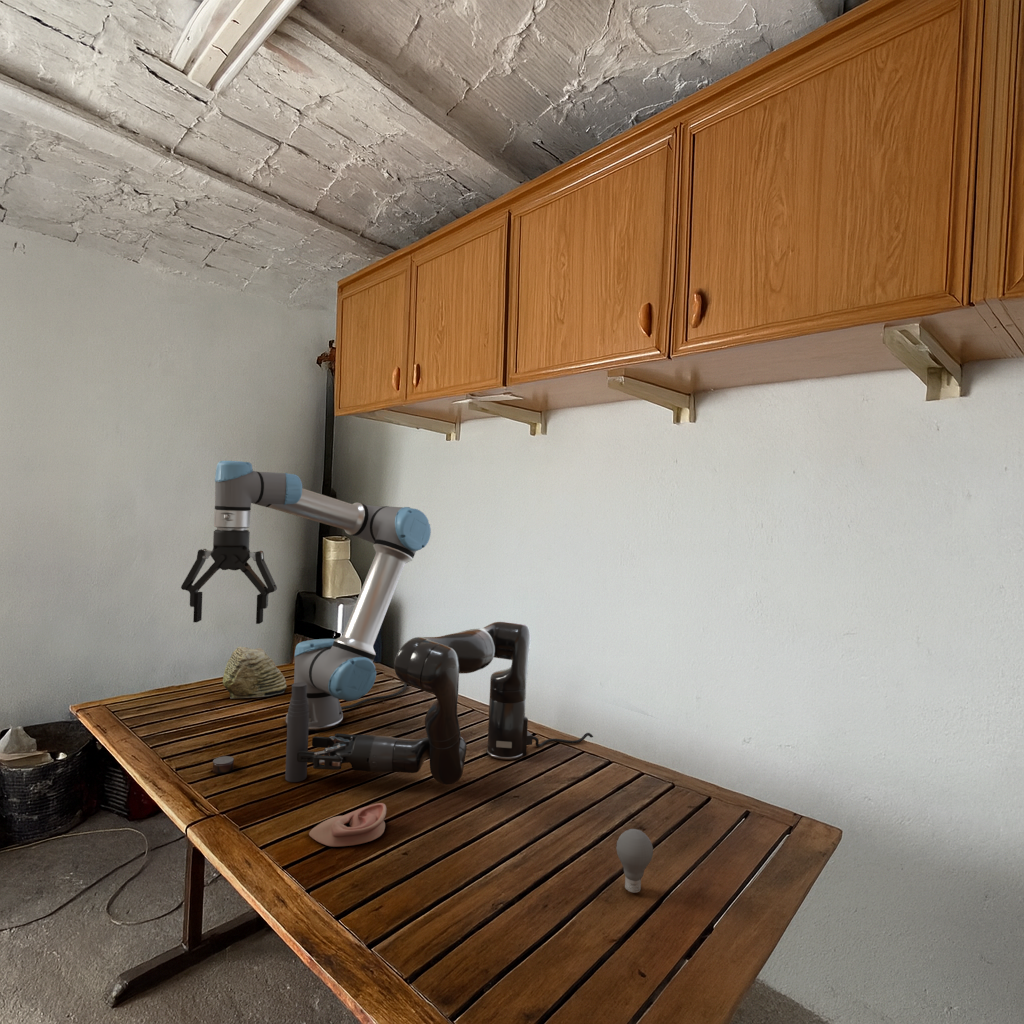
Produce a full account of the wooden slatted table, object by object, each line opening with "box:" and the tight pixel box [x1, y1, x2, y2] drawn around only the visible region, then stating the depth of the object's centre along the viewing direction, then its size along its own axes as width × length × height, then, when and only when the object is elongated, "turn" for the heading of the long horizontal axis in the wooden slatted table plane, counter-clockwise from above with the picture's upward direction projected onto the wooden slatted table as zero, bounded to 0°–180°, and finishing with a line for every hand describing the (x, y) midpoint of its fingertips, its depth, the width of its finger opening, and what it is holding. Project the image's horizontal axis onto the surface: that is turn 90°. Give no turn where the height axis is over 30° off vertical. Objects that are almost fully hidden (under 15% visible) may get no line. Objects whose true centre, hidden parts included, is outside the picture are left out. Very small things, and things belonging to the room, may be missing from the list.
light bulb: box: [615, 828, 654, 894], centre depth 106 cm, size 6×6×10 cm
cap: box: [212, 755, 235, 774], centre depth 145 cm, size 4×4×2 cm
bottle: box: [284, 682, 309, 783], centre depth 142 cm, size 5×5×21 cm
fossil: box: [222, 646, 288, 699], centre depth 198 cm, size 9×18×15 cm, turn 132°
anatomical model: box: [308, 802, 387, 848], centre depth 120 cm, size 13×4×12 cm
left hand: (228, 622), depth 144 cm, fingers open, 13 cm apart
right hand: (305, 748), depth 142 cm, fingers open, 8 cm apart
